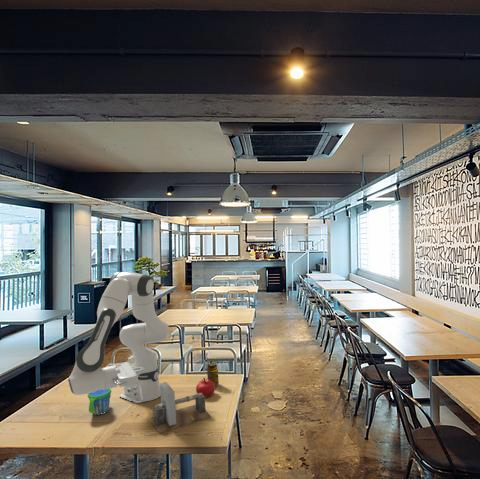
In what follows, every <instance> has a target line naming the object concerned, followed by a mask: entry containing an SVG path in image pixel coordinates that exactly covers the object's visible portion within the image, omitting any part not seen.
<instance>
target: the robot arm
mask: <svg viewBox="0 0 480 479" xmlns="http://www.w3.org/2000/svg"><path fill="white" fill-rule="evenodd" d="M154 288H155V282H154V279H153V277H152V276H150V275H148V274H143V273H138V272H129V271H128V272H127V271H126V272H124V271H117V272H115V273H113V274H112V275H111V277H110V279H109V283H108V285H107V287H106V288H105V290H104V292H103V293H102V295H101V298H100V301H99V303H98V307H97V311H96V316H97V320H96V323H95V326H94V329H93V331H92V333H91V335H90V338H89V340H88V341H87V343H86V344H85V345H84V346H83V347H82V348H81V350H79V351H78V353H77V355H76V357H75V359H76V360H75V362H74V366H73V368H72V371H71V374H70V375H69V377H68V380H67V381H68V385H69V389H70V391H71V393H72V394H73V395H75V396H82V395H88V393H93V392H95V391H98V390H106V389H114V388H117V386H119V387H122V388H123V387H124V388H123V389H124V390H123V392H121V393H120V395H119V398H120V397H121V398H120V399H122V398H124V399H123V400H125V399H127V400H126V401H128V400H129V402H131V401H133V402H132V403H135V404H141V403H144V402H149V401H153V400H156V399H158V398H161V392H160V378H159V367H158V354H157V353H156V351H154V350H153V349H151V348H147V347H146V344H154V343H155V344H156V343H160V342H163V341H165V340H167V339H168V338H169V335H170V327H169V325H168V323H167V322H166V321H164V320H162V319H160V317H158V315H157V313H156V310H155V301H154V300H155V299H154ZM130 296H131V307H132V308H131V309H132V310H131V312H132V316H133V317H135V319H137V320H138V321H139V320H140V321H141V322H140V323H131V324H127V325H125V326H122V328H121V329H120V331H119V340H120V343H122V344H123V345H124V346H125V347H127V348H128V349H129V350H130V351H131V352H132V353H133V356H134V362H135V367H133V366H132V364H131V362H129V361H125V362H118V363H117V362H116V363H108V364H107V365H106V366H104V367H101V366H102V365H103V363H104V360H105V345H106V342H107V340H108V337H109V335H110V332H111V329H112V327H113V326H114V324H115V323H116V322H117V321H118V319H120V317H121V315H122V313H123V312H124V310H125V307H126V305H127V301H128V299H129V297H130Z"/></svg>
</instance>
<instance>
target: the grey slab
mask: <svg viewBox="0 0 480 479" xmlns="http://www.w3.org/2000/svg"><path fill="white" fill-rule="evenodd" d="M159 384H160V392H161V396H160V404H162V403H166V407H165V408H163V416H164V418H165V419H166V421H167V423H168V424H169V426H171V425H174V424H176V410H177V409H176V405H175V400H176V396H175V395H176V394H175V390H173V388H172V387H171V385H169V384H168V382H167V381H164V382H159Z"/></svg>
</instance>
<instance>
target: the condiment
mask: <svg viewBox="0 0 480 479" xmlns="http://www.w3.org/2000/svg"><path fill="white" fill-rule="evenodd" d="M206 371H207V372H206V375H207V376H206V377H207V378H208V379H207V381H208V380H210V381H211V380H212V382H214V384H215V389H217V388H218V387H221V386H222V384H220V383H219V368H218V364H217V363H216V362H211V363H210V362H209V363H208V364H207V370H206Z"/></svg>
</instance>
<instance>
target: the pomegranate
mask: <svg viewBox="0 0 480 479" xmlns="http://www.w3.org/2000/svg"><path fill="white" fill-rule="evenodd" d="M195 386H196V388H195V392H196V394H199V393H202V394H203V395H204V396H205V398H208V397H209V398H210V397H211V396H213V394H215V390H216V388H215V384H214V382H212V380H211V381H210V380H208V377H207V378H205V377H202V379H201V380H200V381H198V383H197V384H196V385H195Z"/></svg>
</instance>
